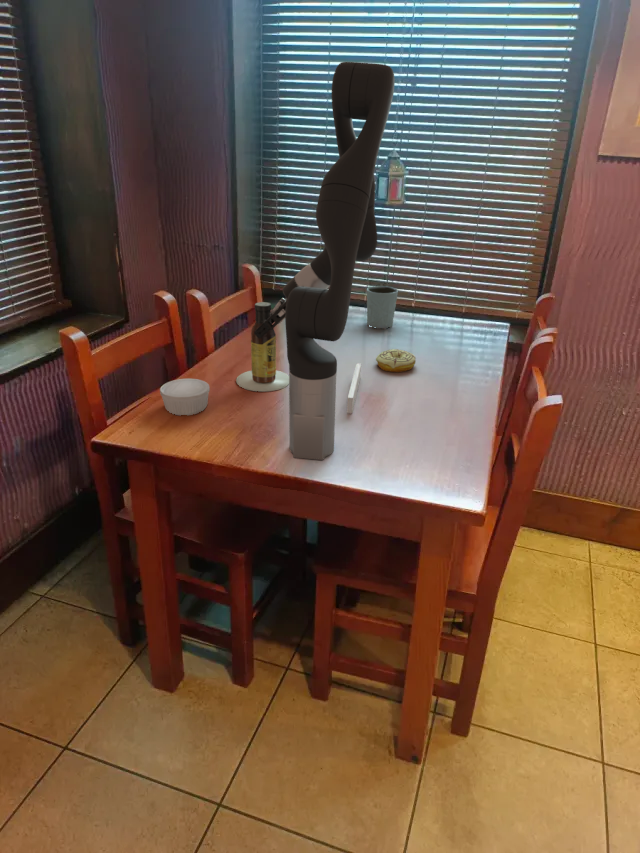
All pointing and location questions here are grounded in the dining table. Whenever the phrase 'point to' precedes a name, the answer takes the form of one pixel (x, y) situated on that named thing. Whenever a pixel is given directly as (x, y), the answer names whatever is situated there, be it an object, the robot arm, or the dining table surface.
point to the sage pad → (249, 384)
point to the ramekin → (185, 396)
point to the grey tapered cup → (381, 306)
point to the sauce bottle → (263, 347)
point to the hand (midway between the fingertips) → (260, 330)
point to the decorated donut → (395, 360)
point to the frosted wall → (354, 388)
